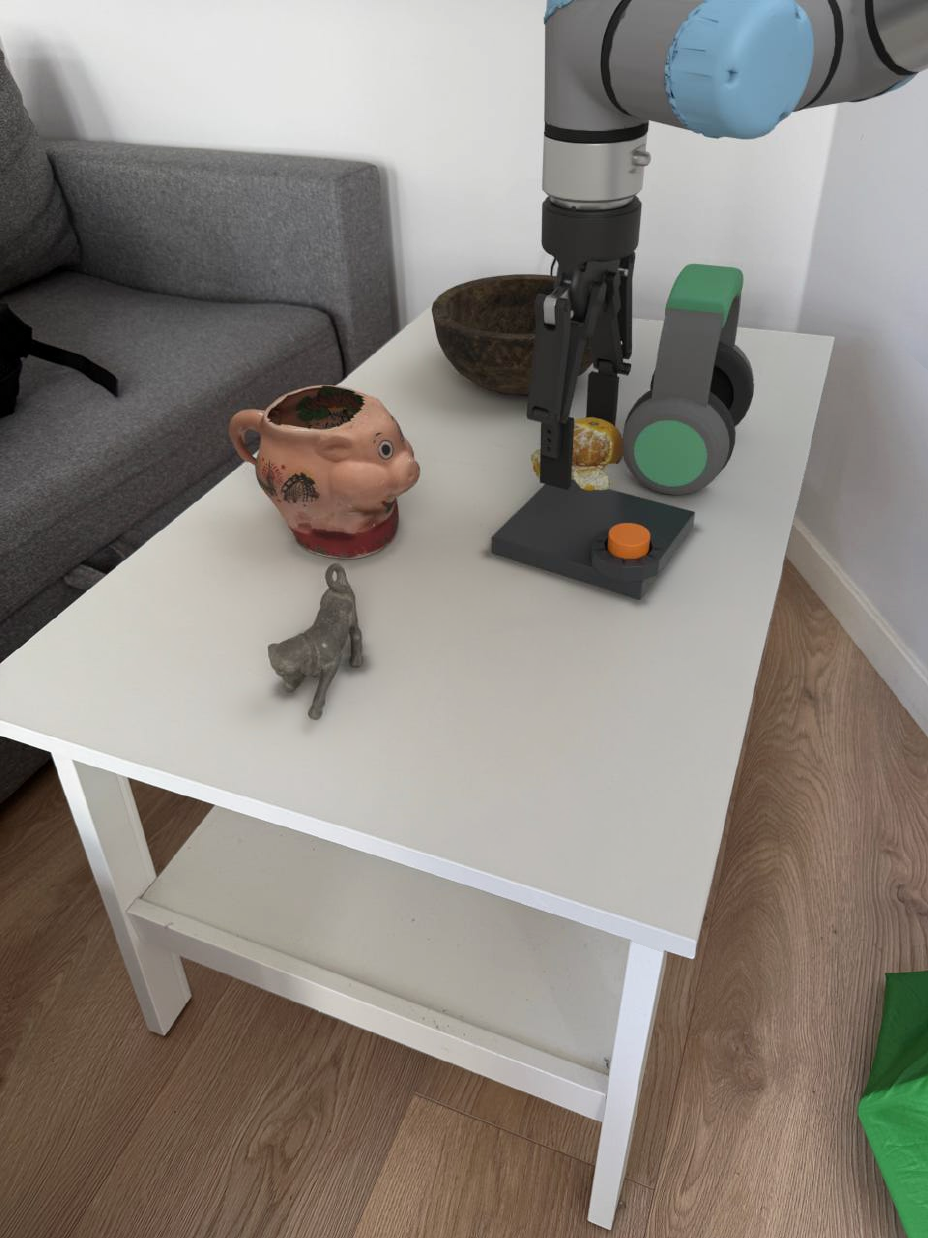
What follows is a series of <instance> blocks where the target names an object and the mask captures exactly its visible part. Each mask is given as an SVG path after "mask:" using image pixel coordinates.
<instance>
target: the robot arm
mask: <svg viewBox="0 0 928 1238" xmlns="http://www.w3.org/2000/svg"><path fill="white" fill-rule="evenodd" d="M543 25H544V99H543V100H544V102H543V103H544V104H543V105H544V106H543V108H544V110H543V111H544V113H543V123H544V130H543V145H542V146H543V147H542V149H543V150H542V172H541V173H542V175H541V177H542V178H541V190H542V191H543V192H544V193H545V194H546V195H547V197H546V198H545V199H544V200H543V202H542V203H541V238H540V239H541V240H540V241H541V247H542V249H543V250H544V251H545V252H546V253H547V254H548V255H550V256H551V257H553V258H554V260H556V262H557V268H556V275H555V276H556V279H555V283H554V291H553V292H552V294H551V295H543V294H538V295H537V297H536V300H535V319H536V330H535V339H534V349H533V358H532V368H531V377H530V387H529V394H528V397H527V407H526V420H529V421H533V422H537V423H540V448H539V449H540V478H539V484H542V485H545V484H547V485H550V486H554V487H558V488H561V489H565V490H568V489H569V488H570V487H571V479H572V478H573V475H572V468H573V466H572V458H573V438H574V420H575V417H572V416H570V414H571V409H572V407H573V405H572V404H573V401H574V396H575V392H576V387H577V383H578V379H579V376H578V374H579V370H580V365H581V361H582V357H583V352H584V348H585V343H586V341H587V339H589V344H590V350H591V355H592V361H593V363H592V367H593V369H594V370H597V371H594V370H591V371H590V372H589V373H588V374H587V375H588V376H587V392H586V408H585V418H588V417H595V418H598V419H602V420H605V421H607V422H610V423H611V424H613V425H614V426H615V427H616V426H617V412H618V401H619V390H620V389H619V388H620V376H618V375H622V376H629V375H630V373H631V370H632V363H630V362H625V361H624V360H630V358H631V357H632V354H633V278H634V271H635V265H636V264H635V263H636V252H635V251H636V250H637V248H638V245H639V242H640V231H641V230H640V229H641V220H642V218H641V217H642V210H643V209H642V207H643V204H642V201H641V200H640V198H639V197H638V196H637V195H638V194H639V193H640V192H641V191H642V190H643V187H644V175H645V167H648V166H649V165H650V164H651V160H652V155H651V152H650V151H647V139H648V132H649V127H650V122H653V123H658V124H662V125H667V126H670V127H674V128H677V129H682V130H687V131H691V132H693V133H695V134H697V135H700V134H701V135H702V136H703V137H706V138H710V139H717V140H719V139H720V138H731V139H737V140H746V141H747V140H755V139H759V138H761V137H765V136H766V135H769V134H770V133H771V132H772V131H774V130H775V129H776V127H777V126H778V125H779V123H781V122H782V121H784V120H785V119H787V118H788V117H789V116H790V115H791V114H792V113H797V112H800V111H803V110H808V109H814V108H818V107H825V106H831V105H836V104H841V103H861V102H864V101H868V100H871V99H874V98H878V97H882V96H883V95H886V94H888V93H891V92H894V91H897V90H899V89H901V88H902V87H904V86H905V85H907V84H908V83H909V82H911V81H912V80H913V79H914V78H915V77H916V76H918V74H919V73H921V72H923V71H925V70H927V69H928V0H546V8H545V12H544V16H543ZM571 322H573V323H579V324H583V326H582V327H578V326H572V325H571ZM616 428H617V427H616Z"/></svg>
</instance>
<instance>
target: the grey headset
mask: <svg viewBox="0 0 928 1238" xmlns="http://www.w3.org/2000/svg"><path fill="white" fill-rule="evenodd" d="M743 286H744V273H743V271H742V270H741V269H740V268H739V267H734V266H723V265H714V264H713V265H712V264H704V263H703V264H702V263H689V264H686V265H685V266H684V267H683V268H682V270H681V271H680V272H679V274H678V275H677V277H676V278H675V280H674V282H673V284H672V287H671V289H670V291H669V292H670V293H669V295H668V298H667V301H666V304H665V308H664V320H663V324H662V329H661V333H660V340H659V344H658V350H657V356H656V362H655V369H654V371H653V373H652V376H651V381H650V385H649V387H650V388H649V390H648V391H646V392H645V393H643V395H641V396H640V397H639V398H638V399H637V400H636V402H635V403H634V405H633V406H632V407H631V409H630V411H629V412H628V414H627V417H626V419H625V421H624V427H623V432H622V440H623V445H624V450H623V457H622V458H623V460H624V463H625V465H626V467H627V469H628V470H629V472H630V473H631V474H632V476H633V477H634V478H635V479H636V480H637V481H638V482H639V483H641V485H644V486H645V487H646V488H648V489H651V490H653V491H655V492H657V493H660V494H665V495H670V496H671V495H672V496H679V495H680V496H682V495H688V494H693V493H696V492H698V491H700V490H702V489H705V488H706V487H707V486H708V485H710V484H712V483H713V482H714V481H715V479H717V477H718V476H719V475H720V473H721V472H723V470H724V469H725V468H726V466H727V465H728V463H729V461H730V459H731V457H732V455H733V452H734V448H735V445H736V436H737V435H736V433H737V432H736V427H737V426H738V425H740V423H741V422H742V421H743V419H745V417H746V415H747V414H748V411H749V410H750V408H751V405H752V402H753V398H754V392H755V391H754V389H755V383H754V380H755V379H754V372H753V367H752V365H751V362H750V360H749V357H747V355H746V353H745V352H744V351H743V350H742V349H741V348H740V347H739V346H738V345H736V339H737V332H738V326H739V318H740V312H741V311H740V310H741V302H742V301H741V300H742V291H743Z"/></svg>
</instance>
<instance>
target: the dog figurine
mask: <svg viewBox="0 0 928 1238" xmlns="http://www.w3.org/2000/svg"><path fill="white" fill-rule="evenodd" d="M334 572H335V573H336V579H334V576H333V575H334ZM347 577H348V576H347V573H346V571H345V568H344V567H343V566H341V564H339V563H337V562H335V563H332V564H330V565H329V566H328V567H327V568H326V570H325V574H324V579H325V582H326V586H327V589H326V590H325V591H324V592H323V594H322V596H321V597H320V600H319V610H318V612H317V615H316V616H315V620H314V621H313V624H312V625H311V626H310V627H308V628H307V629H306V630H305V631H304V632H300V633H298V634H297V635H295V636H293V637H289V638H287V639H286V640H283V641H281V642H279V643H271V644H269V645H268V646H267V652H268V659H269V663H270V666H271V668H272V669H273V670H274V672H275V674H276V675H277V676H279V677H281V678H282V680H283V681H284V682H285V683H284V684H283V689H284V690H285V691H286V692H289V693H290V692H293V691H295V690H296V689H297V688H298V687H299V686H300V685H301V683H302V681H304V679H305V678H306V677H310V678H311V677H313V678H314V677H317V676H319V675H320V677H319V681H318V685H317V689H316V691H315V694H314V696H313V699H312V704H311V706H310V707H309V709H308V711H307V716H308V718H310V720H314V721H319V720H320V719H321V718H322V716H323V708H324V706H325V705H326V695H327V692H328V690H329V687H330V685H331V684H332V680H333V679H334V678H335V676H336V674H337V672H338V670H339V667H340V665H341V662H342V659H343V653H342V652H343V651H342V650H343V649H344V647H345V645H346V644H347V641H348V638H349V640H350V658H349V664H350V665H349V666H351V667H354V668H359V667H361V666H362V665H363V664H364V660H363V658H362V653H363V645H362V641H363V637H362V631H361V628H360V627H359V620H358V619H359V618H358V614H357V605H356V595H355V592H354V590H353V589H352V586H351V585H350V583H349V581H348V578H347Z"/></svg>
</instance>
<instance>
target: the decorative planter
mask: <svg viewBox="0 0 928 1238" xmlns="http://www.w3.org/2000/svg"><path fill="white" fill-rule="evenodd" d="M228 427H229V428H228V431H227V433H228V436H229V438H230V440H231V443H232V445H233V447H234V449H235V451H236V452H237V455H238V456H239V457H240V458H241V459H242V460H243V461H244V462H246V463H250V464H252V465H253V466H254V471H255V476H256V480H257V481H258V485H259V486H260V488H261V490H262V491H263V492H264V494H265V495H266V497H267V498H268V499H269V500H270V501H271V502H272V503H273V504H274V506H275V508H276V509H277V510H278V512H279V514H280V515H281V517H282V518H283V520H284V521H285V523H286V526H288V528H289V530H290V531H291V532H292V534H293V536H294V538H295V541H296V543H297V544H299V546H301V547H302V548H303V549H305V550H307V551H309V552H311V553H313V554H316V555H318V556H322V557H329V558H335V559H341V560H342V559H344V560H352V559H358V558H359V559H360V558H364V557H367V556H369V555H372V554H376V553H377V552H378V551H380V550H382V549H383V548H384V547H386V546H387V545H389V544H390V543H391V542H392V540H394V537H395V536H396V534H397V532H398V529H399V521H400V513H399V511H400V510H399V504H398V503H399V502H398V497H400V496H402V495H403V494H405V493H406V492H408V491H409V490H411V489H412V488H413V487H414V486H415V485H416V484H417V483H418V481H419V478H420V475H421V466H420V464H419V462H418V461H417V460H416V459H415V452H414V449H413V446H412V445H411V443H410V442H409V440H408V439H407V438H406V437H405V435H404V433H403V431H402V428H401V426H400V424H399V422H398V420H397V419H396V418H395V417H394V416H393V415H392V414H391V413H390V411H389V410H388V409H387V408H386V406H385V405H384V404H383V402H382V401H381V400H380V399H379V398H377V397H375V396H372V395H370V394H366V393H364V392H361V391H358V390H355V389H353V388H349V387H345V386H340V385H333V384H332V385H331V384H330V385H329V384H317V385H310V386H306V387H302V388H299V389H295V390H293V391H290V392H287V393H286V394H283V395H282V396H279V397H278V398H277V399H275V400H274V401H273V402H271V404H270V405H268V407H267V408H266V409H265V410H262V409H255V408H250V409H242V410H240V411H238V412H237V413H235V414H233V416H232V417H231V419H230V423H229V426H228ZM248 430H249V431H250V430H251V431H255V432H256V433H257V434H259V436H260V445H259V448H258V452H257V455H256V457H255V456H254V455H253V454H252V453H251V451H250V449H249V448H248V446H247V444H246V432H247V431H248Z"/></svg>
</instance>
